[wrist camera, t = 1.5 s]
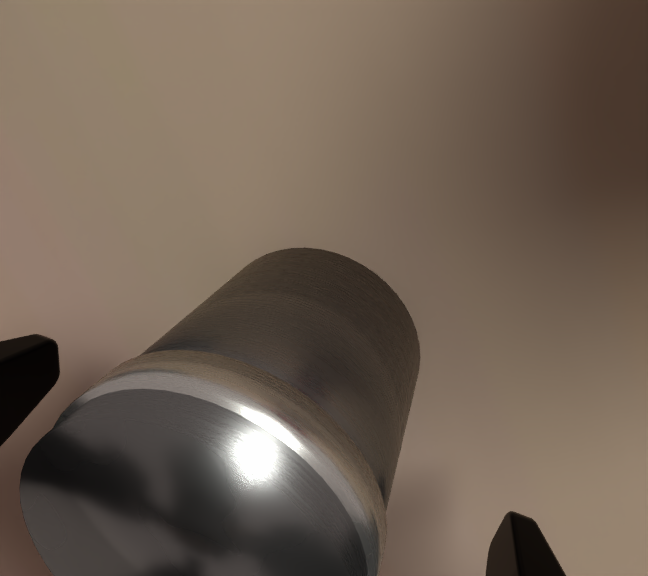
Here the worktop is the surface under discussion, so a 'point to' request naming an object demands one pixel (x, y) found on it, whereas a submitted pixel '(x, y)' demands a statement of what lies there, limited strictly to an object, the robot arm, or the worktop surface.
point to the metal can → (238, 435)
